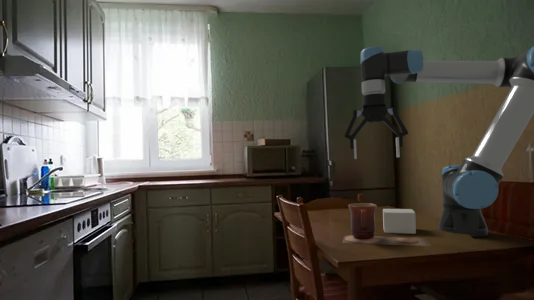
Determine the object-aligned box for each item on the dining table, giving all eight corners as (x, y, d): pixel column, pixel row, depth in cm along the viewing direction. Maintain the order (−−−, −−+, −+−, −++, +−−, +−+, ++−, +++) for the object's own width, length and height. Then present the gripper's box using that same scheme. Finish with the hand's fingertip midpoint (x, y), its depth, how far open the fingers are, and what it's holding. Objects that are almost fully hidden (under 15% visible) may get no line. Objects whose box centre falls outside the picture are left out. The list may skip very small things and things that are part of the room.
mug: (348, 234, 123) (348, 203, 123) (376, 234, 121) (375, 203, 121) (349, 242, 111) (348, 208, 111) (379, 243, 109) (378, 208, 109)
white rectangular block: (412, 231, 132) (412, 209, 132) (416, 237, 123) (415, 212, 123) (383, 230, 134) (382, 208, 134) (384, 236, 125) (383, 212, 126)
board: (425, 241, 116) (425, 236, 116) (431, 250, 105) (431, 245, 105) (344, 238, 123) (344, 234, 123) (342, 246, 112) (342, 241, 112)
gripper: (411, 93, 124) (415, 156, 124) (336, 99, 130) (339, 159, 130) (415, 89, 117) (418, 156, 116) (335, 95, 123) (337, 159, 123)
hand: (376, 158), depth 123 cm, fingers open, 13 cm apart
